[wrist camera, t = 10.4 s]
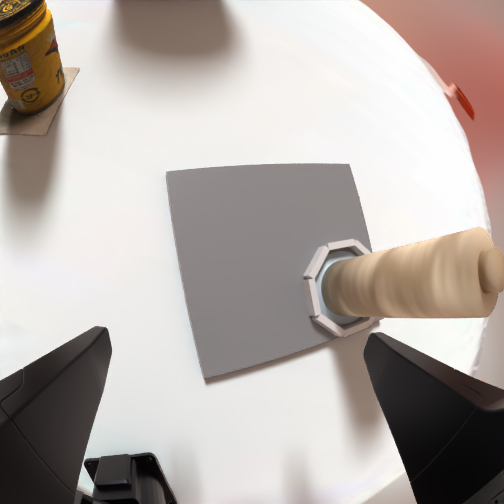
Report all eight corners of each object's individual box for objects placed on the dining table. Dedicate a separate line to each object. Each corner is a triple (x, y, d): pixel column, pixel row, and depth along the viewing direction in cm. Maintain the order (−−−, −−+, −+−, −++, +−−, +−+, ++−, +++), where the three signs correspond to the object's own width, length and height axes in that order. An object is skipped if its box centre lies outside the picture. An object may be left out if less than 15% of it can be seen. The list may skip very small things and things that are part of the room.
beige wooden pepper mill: (364, 314, 25) (512, 311, 11) (321, 317, 24) (485, 322, 10) (363, 261, 26) (507, 229, 12) (320, 259, 24) (478, 216, 10)
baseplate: (378, 318, 27) (390, 318, 25) (203, 375, 21) (207, 382, 19) (344, 167, 28) (355, 160, 27) (165, 175, 22) (167, 166, 20)
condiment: (80, 69, 20) (70, -24, 9) (45, 136, 19) (4, 42, 8) (27, 69, 18) (4, -11, 7) (-9, 134, 17) (-59, 58, 5)
